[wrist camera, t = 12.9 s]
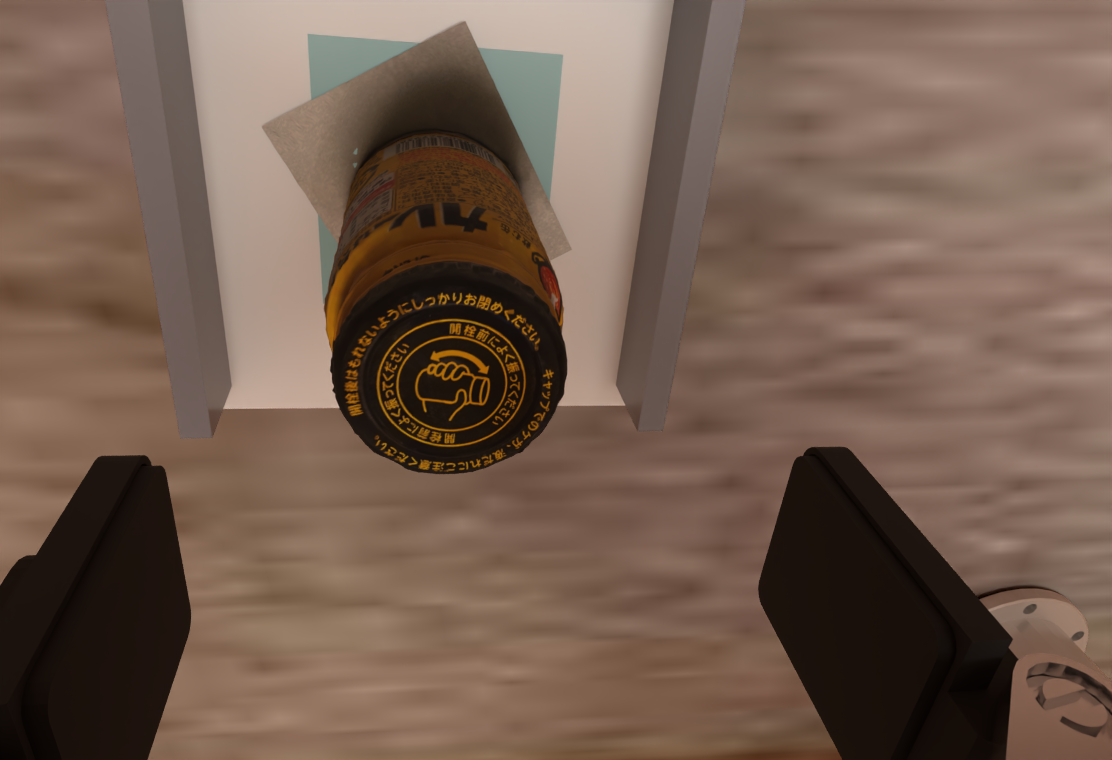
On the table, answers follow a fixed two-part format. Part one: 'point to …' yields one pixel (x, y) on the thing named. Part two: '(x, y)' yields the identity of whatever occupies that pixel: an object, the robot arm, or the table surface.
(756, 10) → the table surface
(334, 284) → the condiment
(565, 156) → the dock
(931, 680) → the robot arm
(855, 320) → the table surface
